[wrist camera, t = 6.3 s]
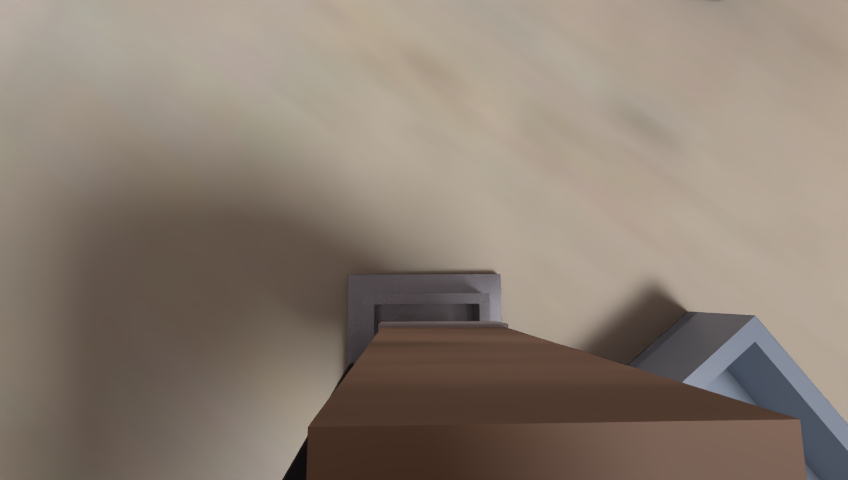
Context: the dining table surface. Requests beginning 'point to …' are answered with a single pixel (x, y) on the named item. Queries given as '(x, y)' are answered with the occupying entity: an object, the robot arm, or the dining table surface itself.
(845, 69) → the dining table surface
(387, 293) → the socket block
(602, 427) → the strut
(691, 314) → the bin
